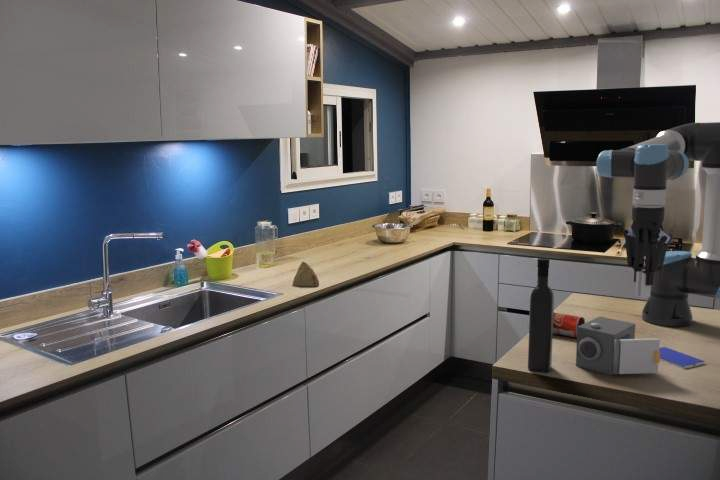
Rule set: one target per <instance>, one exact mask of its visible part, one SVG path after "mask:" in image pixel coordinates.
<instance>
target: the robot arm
mask: <svg viewBox="0 0 720 480" xmlns="http://www.w3.org/2000/svg"><path fill="white" fill-rule="evenodd" d="M689 161H693V162H694V161H695V162H701V169H702V170H703V171H705V173H706V183H705V196H704V197H705V198H704V213H703V223H702V225H703V226H702V227H703V228H702V241H701V242H702V243H701V249H700V250H699V251H697V252H696V254H695V257H693V254H692V253H691V252H690V251H687V250H686V251H685V250H671V251H667V250H668V246H669V244H670V242H671V241H672V239H673V236H672V235H670V234H667V233H666V232H664V226H663V223H664V221H665V212H666V211H665V210H666V209H665V207H663V206H664V205H665V204H666V195H667V194H666V193H667V181H674V180H677V179H679V178H682V177H683V176H684V175H685V174H686V173H687V172H688V170H689V167H690V162H689ZM596 171H597V173H598V175H599V176H600V177H603V178H610V179H613V178H616V179H620V178H621V179H633V186H632V188H633V189H632V191H633V192H632V202H631V203H632V204H633V206H632V207H631V218H630V219H631V220H632V224H631V226H630V227H629V228H627V229H623V230H622V235H623V237H624V241H625V242H624V243H625V250H626V261H627V266H628V268H632V270H633V272H634V274H633V282H634V283H635V288H634V289H635V290H634V291H635V292H634V296H635V297H637V298H638V297H640V298H642V299H646V298H647V300H646V301H645V304H644V306H643V308H642V311H641V319H642V320H643V321H645V322H647V323H650V324H652V325H656V326H663V327H672V328H673V327H674V328H679V327H688V326H691V325H692V324H693V317H694V316H693V313H692V310H691V305H690V302H689V300H688V299H689V294H691V295H696V296H702V297H708V298H713V299H715V300H719V299H720V122H718V121H717V122H691V123H685V124H682V125H678V126H675V127H672V128H669V129H666V130H663V131H660V132H659V133H658V134H657V135H656V136H655V137H653V138H651V139H648V140H645V141H642V142H638V143H637V144H634V145H631V146H627V147H625V148H621V149H615V150H613V149H609V150H603V151H601V152H600V153H599V154H598V157H597V158H596Z"/></svg>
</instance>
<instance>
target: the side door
mask: <svg viewBox="0 0 720 480" xmlns="http://www.w3.org/2000/svg"><path fill="white" fill-rule="evenodd" d="M660 344H661V339H659V338H653V337H652V338H635V339H620V340H618V339H615V340H614V356H613V375H618V374H619V375H633V374H636V375H638V374H658V372H659V364H660V363H661V362H660V361H661V360H660V351H659V348H660Z"/></svg>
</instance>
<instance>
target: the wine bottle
mask: <svg viewBox="0 0 720 480" xmlns="http://www.w3.org/2000/svg"><path fill="white" fill-rule="evenodd" d="M549 269H550V259H549V258H543V257H542V258H537V280H536V286H535V287H534V288H533V289H532V291H531V293H530V296H529V297H530V298H529V323H528V325H529V326H528V327H529V328H528V347H527V348H528V351H527V352H528V355H527V356H528V357H527V369H528V371H529V370H530V371H533V372H541V373H549V372H550V371H551V368H552V364H553V363H552V360H553V359H552V358H553V336H554V334H553V312H554V310H555V308H554V307H555V305H554V304H555V296H554V295H555V293H554V292H553V290H552V288H551V287H550V286H549ZM554 313H555V312H554Z"/></svg>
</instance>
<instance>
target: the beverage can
mask: <svg viewBox="0 0 720 480" xmlns="http://www.w3.org/2000/svg"><path fill="white" fill-rule="evenodd" d="M585 321H586V319H585V318H584V316H583V317H582V316H578V315H571V314H565V313H559V312H553V335H557V336H558V335H559V336H565V337H569V338H570V337H571V338H575V339H577V329H578V326H580V325H582V324H584V323H586V322H585Z"/></svg>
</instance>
